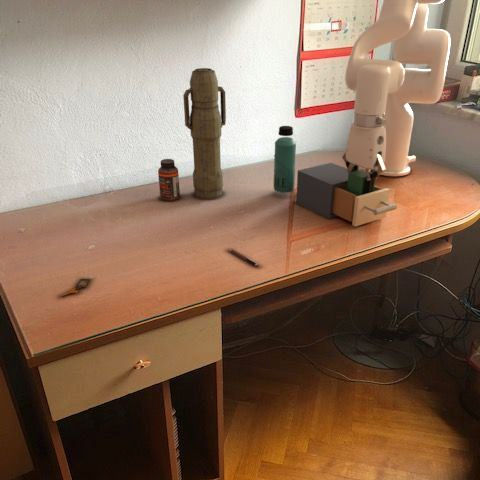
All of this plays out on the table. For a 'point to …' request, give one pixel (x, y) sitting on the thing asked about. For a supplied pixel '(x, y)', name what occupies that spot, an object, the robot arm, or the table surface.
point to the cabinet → (320, 187)
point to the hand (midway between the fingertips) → (360, 190)
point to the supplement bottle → (168, 180)
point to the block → (356, 182)
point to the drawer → (361, 205)
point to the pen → (244, 257)
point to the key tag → (81, 284)
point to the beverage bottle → (284, 161)
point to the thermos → (205, 131)
